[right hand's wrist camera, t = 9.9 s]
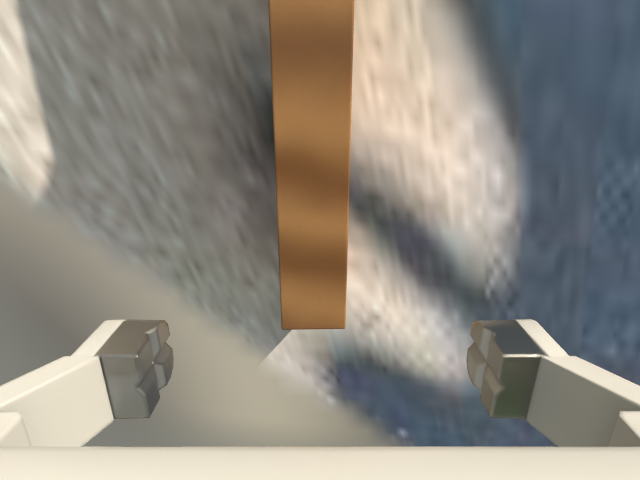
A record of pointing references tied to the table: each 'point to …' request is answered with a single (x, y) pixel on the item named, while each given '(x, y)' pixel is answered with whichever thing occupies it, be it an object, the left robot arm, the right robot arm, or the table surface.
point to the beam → (312, 156)
